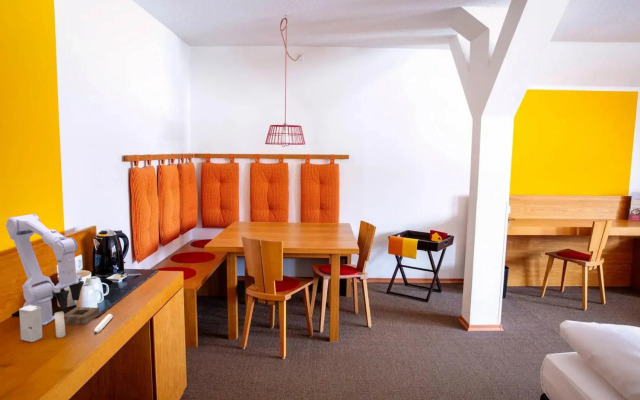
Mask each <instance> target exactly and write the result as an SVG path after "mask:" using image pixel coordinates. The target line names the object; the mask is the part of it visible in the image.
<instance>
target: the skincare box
mask: <svg viewBox="0 0 640 400" xmlns="http://www.w3.org/2000/svg"><path fill="white" fill-rule="evenodd" d="M18 311H19V329H20V340H21V341H26V342H30V343H33V342H36V341H39V340H40V339H43V325H42V319H41V307H37V306H32V305H28V306H25V307H23V306H22V307H21V308H19V310H18Z"/></svg>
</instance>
